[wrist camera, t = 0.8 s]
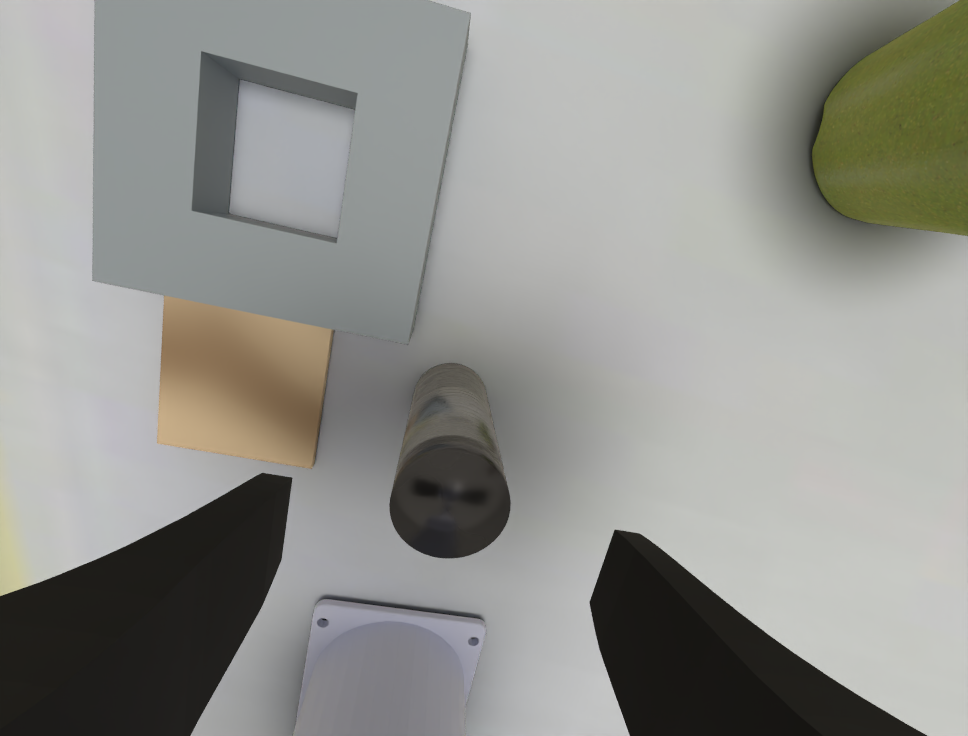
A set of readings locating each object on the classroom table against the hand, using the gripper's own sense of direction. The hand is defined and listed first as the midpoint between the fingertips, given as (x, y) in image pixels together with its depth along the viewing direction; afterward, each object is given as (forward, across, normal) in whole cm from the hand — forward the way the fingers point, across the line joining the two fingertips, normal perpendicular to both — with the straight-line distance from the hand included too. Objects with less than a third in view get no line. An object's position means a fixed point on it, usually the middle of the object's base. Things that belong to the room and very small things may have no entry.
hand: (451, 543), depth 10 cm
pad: (+10, +8, +1) cm, 12 cm away
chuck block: (+10, +7, -12) cm, 17 cm away
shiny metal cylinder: (+10, 0, 0) cm, 10 cm away
